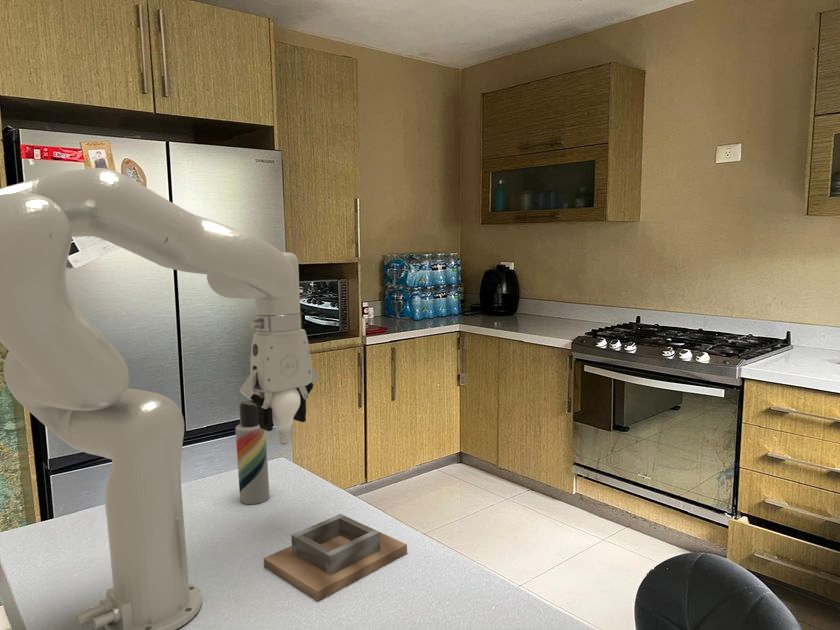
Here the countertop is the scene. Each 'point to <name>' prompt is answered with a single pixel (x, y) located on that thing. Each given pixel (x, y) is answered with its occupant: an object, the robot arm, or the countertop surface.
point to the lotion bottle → (251, 456)
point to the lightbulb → (284, 413)
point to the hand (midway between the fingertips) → (283, 424)
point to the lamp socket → (333, 556)
